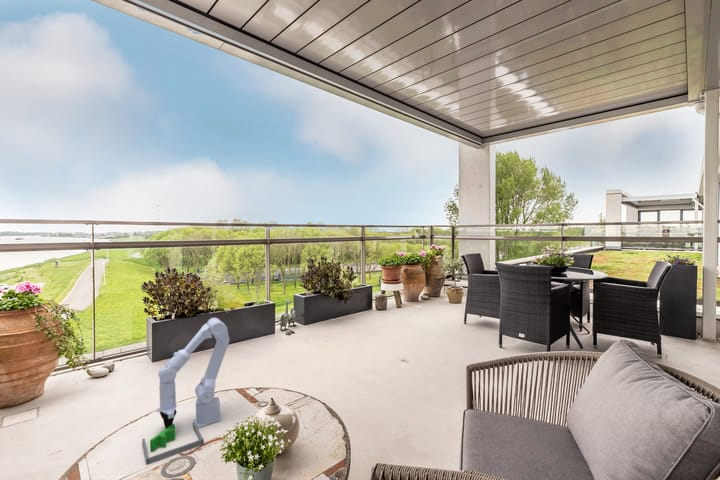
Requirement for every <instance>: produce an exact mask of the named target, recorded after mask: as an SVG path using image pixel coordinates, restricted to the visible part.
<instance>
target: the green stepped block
mask: <svg viewBox="0 0 720 480" xmlns="http://www.w3.org/2000/svg"><path fill="white" fill-rule="evenodd" d="M175 441H176V424H174V423H173V424H172V425H171V426H169V427H168V428H166V429H164V430H162V431H161V432H160V433H158V434H157V435H155V436H154V437H152V438H151V439H150V441H149V446H150V447H149V448H150V453H151V452H152V453H153V452H155V451H156V450H157V449H159V448H163V449H166V448H167V444H168V443H169V442H175Z"/></svg>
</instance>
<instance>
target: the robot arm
mask: <svg viewBox="0 0 720 480" xmlns="http://www.w3.org/2000/svg"><path fill="white" fill-rule="evenodd" d="M212 335H213V336H212ZM229 335H230V334H229V332H228V326H226V324H225V322H223V321H221V320H220V318H218V317H211V318H209V319H208V320H207V322H206V323H205V324H203V325H202V326H201V328H200V329H199V330H198V332H197V333H196V334H195V335H194V337H192V339H191V340H190V341H189V342H188V344H187V345H186V346H185V347H184V348H182V349H178V351H177V352H176V351H175V352H174V353H173V356H172V357H171V359H169V361H168V362H165V363H164V365H163V366H161V368H160V369H159V371H158V373H157V375H158V377H159V388H158V389H159V407H158V408H156V413H157V412H158V413H159V415H160V417H161V419H162V420H163V424H164V428H165V429H166V428H168V427H169V426H171V425H172V424H174V420H175V417H176V416H177V413H178V412H177V409H176V408H177V402H176V401H177V400H176V399H177V397H176V396H177V395H176V381H175V379H176V378H177V373H178V372H179V371H181V369H182V368H183V367H184V366H185V364H187V363H188V361H190V359H191V354H192V353H193V352H194V351H195V350H196V348H197V347H198V346H199V345H200V344H202V343H203V341H205V340H206V339H211V338H213V337H214V339H215V340H216V341H215V342H216V343H215V345H214V348H213V351H212V353H211V355H210V359H209V361H208V364H207V367H206V370H205V373H204V374H203V376H202V378H201V379H200V382H199V383H198V384H197V385H196V386H195V389H194V393H195V395H196V396H197V398H196V400H195V418H194V419H193V423H194V422H195V424H196V426H197V428H198V429H199V428H202V427H205V426H207V425H211V424H215V423H217V422H220V421H221V420H222V418H221V401H220V398H219V396H217V397H215V390H216V380H217V377H218V374H219V371H220V368H221V365H222V362H223V361H224V357H225V354H226V351H227V348H228V346H229V344H230V336H229ZM165 429H164V430H165Z"/></svg>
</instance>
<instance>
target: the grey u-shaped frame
mask: <svg viewBox="0 0 720 480" xmlns="http://www.w3.org/2000/svg"><path fill="white" fill-rule="evenodd" d="M192 429H193V431H194V433H195V435H196V437H197V439H198V440H195V441H192V442H189V443H186V444H184V445H181V446H177V447H175V448H173V449H170V450H167V451H164V452H160V453H158V454H155V455H153V456H149V452H148V447H147V443H146V439H145V438H142V442H141V443H142V448H143V449H142V450H143V454H144V458H145V465H150V464H153V463H156V462H158V461H160V460H163V459H166V458H167V459H168V458H169V457H171V456H175V455H178V454H180V453H183V452H186V451H189V450H191V449H194V448H197V447H200V446H202V445H204V443H205V441H204V438H203V436H202V434H201V432H200V430H199V428H197V426H196V424H195V422H194V421H193V422H192Z"/></svg>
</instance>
